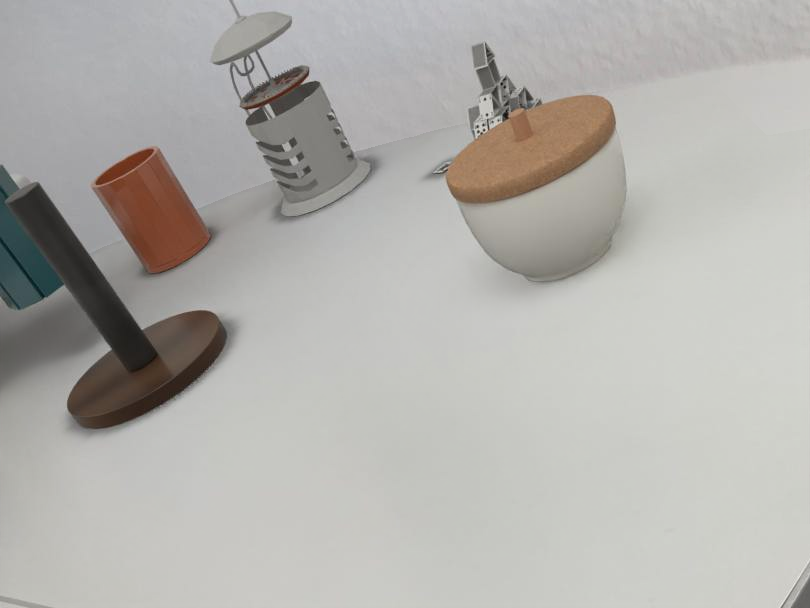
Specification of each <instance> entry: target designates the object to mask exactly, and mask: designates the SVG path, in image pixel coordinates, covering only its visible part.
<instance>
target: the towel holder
mask: <svg viewBox="0 0 810 608" xmlns="http://www.w3.org/2000/svg"><path fill="white" fill-rule="evenodd" d="M5 204H6V205H7V207H8V208H9V210H10V211H11V212H12V214H13V215H14V216H15V218H16V219H17V221H18V222H19V223H20V225H21V226H22V227H23V229H24V230H25V231H26V233H27V234H28V236H29V237H30V238H31V240H32V241H33V242H34V244H35V245H36V246H37V248H38V249H39V251H40V252H41V253H42V255H43V256H44V257H45V259H46V260H47V262H48V263H49V264H50V266H51V267H52V268H53V270H54V271H55V272H56V274H57V275H58V277H59V278H60V279H61V281H62V282H63V283H64V285H63V286H65V288H66V289H67V290H68V292H69V293H70V294H71V297H73V299H74V300H75V302H77V304H78V306H79V307H80V308H81V310H82V311H83V313H85V315H86V317H87V318H88V319H89V321H90V322H91V323H92V325H93V326H94V327H95V329H96V331H98V333H99V334H100V336H101V337H102V338H103V340H104V341H105V342H106V344H107V345H108V347H109V348H110V350H109V351H108V352H106V353H105V354H104V355H103V356H101V357H100V358H99V359H98V360H96V361H95V362H94V363H93V364H92V365H91V366H90V367H89V368H88V369H87V370H86V371H85V372H84V373H83V374H82V376H80V378H79V379H78V380H77V381H76V383H75V384H74V385H73V387H72V388H71V390H70V392H69V395H68V396H67V400H66V408H67V409H66V410H67V411H68V413H69V414H70V415H71V416H72V417H73V419H74V420H75V421H76V423H77V424H78V425H79V426H81V427H82V428H85V429H89V430H93V429H94V430H100V429H106V428H111V427H114V426H119V425H122V424H125V423H127V422H129V421H132V420H134V419H136V418H139V417H141V416H143V415H145V414H147V413H150V412H151V411H153V410H155V409H157V408H158V407H160V406H162V405H164V404H165V403H167V402H168V401H170V400H171V399H173V398H174V397H176V396H177V395H178V394H180V393H181V392H183V391H184V390H185V389H187V388H188V387H189V386H190V385H191V384H193V383H194V382H196V380H197V379H199V378H200V377H201V376H202V375H203V374H204V373H205V372H206V371H207V370H208V368H210V367H211V366H212V364H213V363H214V362H215V361H216V360H217V358H218V357H219V355H220V354H221V353H222V351H223V349H224V347H225V345H226V342H227V338H228V334H227V333H228V332H227V329H226V328H225V326H224V324H223V322H222V321H221V319H220V318H219V316H218V315H217V314H216V313H215V312H213V311H211V310H204V309H197V310H190V311H186V312H182V313H181V312H180V313H178V314H174V315H172V316H169V317H166V318H164V319H162V320H160V321H157V322H155V323H153V324H151V325H148V326H147V327H145V328H143V329H142V328H141V327H140V325H139V324H138V322H137V320H136V319H135V318H134V316H133V315H132V313H131V312H130V311H129V310H128V308H127V306H126V305H125V304H124V302H123V300H121V298H120V296H119V295H118V293H117V292H116V291H115V289H114V288H113V286H112V285H111V283H110V282H109V280H108V279H107V278H106V276H105V275H104V273H103V272H102V271H101V269H100V268H99V267H98V265H97V264H96V262H95V261H94V259H93V257H92V256H91V254H90V253H89V252H88V250H87V249H86V248H85V246H84V245H83V243H82V242H81V241H80V239H79V238H78V236H77V235H76V233H75V231H73V229H72V228H71V226H70V224H68V222H67V220H66V219H65V217H64V216H63V215H62V213H61V212H60V210H59V209H58V207H57V206H56V205H55V203H54V202H53V200H52V199H51V198H50V196H49V195H48V193H47V192H46V190H45V189H44V187H43V186H42V185H41V183H40V182H39V181H35V182H31V184H29V185H27V186H25V187H23V188H21V189H19V190H18V191H16V192H15V193H13V194H12V195H11V196H10V197H8V198H7V199H6V201H5Z"/></svg>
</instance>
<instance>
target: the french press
mask: <svg viewBox="0 0 810 608" xmlns="http://www.w3.org/2000/svg"><path fill="white" fill-rule="evenodd" d="M228 1H229V3H230V6H231V7H232V9H233V11H234V13H235V14H236V19H235V20H234V23H232V25H230V26H229V27H228V28H227V29H226V30H225V31H223V32H222V34H221V35H220V37H219V38H218V40H217V41H216V42H215V44H214V46H213V48H212V52H211V56H210V59H209V62H210V63H212V64H213V65H216V66H222V65H227V64H229V74H230V79H231V82H232V86H233V89H234V91H235V94H236V95H237V97H238V99H239V102H240V103H239V107H240V108H241V109H243V110H244V111H245V113H246V114H247V116H248V117H246V119H245V125H246V128H247V130H248V132H249V134H250V135H251V136H252V137H253V138H254V139H255V140H257V141H255V144H256V147H257V149H258V150H259V151H260V152H261V153H263V155H262V158H263V159H264V161H265V164H266V165H268V166H269V167H270V169H269V171H270V172H271V174H272V177H273V178H274V179H276V180H277V181H276V184H277V186H278V188H279V190H280V191H281V193H282V195H283V201H282V205H281V210H280V214H281V215H283V216H285V217H299V216H302V215H306V214H309V213H311V212H315V211H317V210H319V209H322V208H323V207H325V206H328V205H329V204H332V203H334V202H336V201H337V200H338V199H340V198H342V197H343V196H345V195H347V194H348V193H350V192H351V191H353V190H354V189H355V188H356V187H357V186H359V184H361V183H362V182H363V181H364V180H365V179H366V177H367V176H368V175H369V174H370V172H371V163H370V162H367V161H365V160H362V159H359V158H357V157H356V155H355V153H354V151H353V150H352V148H351V145H350V142H349V140H348V138H347V137H346V135H345V132H344V130H343V128H342V126H341V124H340V123H339V120H338V118H337V115H336V113H335V111H334V109H333V108H332V104H331V102H330V100H329V97H328V96H327V94H326V91H325V90H324V87H323V85H322V83H321V82H320V81H317V80H313V81H307V82H305V80H307V78H308V77H309V75H310V66H308V65H303V64H301V65H298V66H293V67H292V68H289V69H287V70H284V72H282V71H280V73H281V74H280V73H277V74H278V75H274V77H273V76H271V74H270V72H269V70H268V69H267V67H266V65H265V62H264V60H263V59H262V56H261V55H260V53H259V50H261V49H262V48H264V47H265V46H267V45H269V44H271V43H272V42H274V41H275V40H276V39H278V38H279V37H280V36H283V34H284V33H286V32H287V31H288V30H289V29H290V28H291V27H292V24H293V16H292V15H289V14H285V13H283V12H280V11H279V12H278V11H263V12H255V13H253V14H249V15H247V16H246V15H241V14H240V13H239V10H238V8H237V7H236V5H235V3H234V0H228ZM253 53H255V54H256V56H257V59H258V60H259V62H260V65H261V66H262V68H263V70H264V72H265V75H266V76H267V79H268V80H267V79H266V80H265V81H263V82H261V83H259V84H258V85H256V86H254V84H253V82H252V80H251V76H250V74H252V73H253V71H254V70H255V68H256V66H255V62H254V60H253V58H252V56H251V54H253ZM241 59H243V67H244V71H245V72H241V71H240V69H239V67H238V65H237V64H236V63H235V62H236V61H239V60H241ZM247 59H249V62H250V63H251V67H250V69H248V64H247V63H248V62H247ZM233 69H235V71H236V73H237V75H239V76H240V77H247V80H248V84H249V86H250V88H251V89H250V90H249V91H248V92H247V93H246V94H245V95H244V96H243V97H242V96H241V94H240V91H239V90H238V87H237V84H236V82H235V75H234V71H233ZM267 105H268V106H269V107H270V108H271V110H272V113H273V114H274V117H273V116H272V115H271V113H270V112H269V111H268V109H267V107H266V106H267ZM254 109H255V110H254ZM249 110H254V111H253V112H250V111H249ZM330 113H332V114H333V115H332V114H330ZM338 127H339V128H338ZM287 143H288V144H289V146H290V149H289V150H288V151H287V150H285V148H284V146H283V145H286V144H287ZM295 158H296V160H297V161H298V163H296V164H292V162H291V160H292V159H295ZM302 171H303V173H304V174H303V175H302V176H300V177H299V175H298V173H301V172H302Z"/></svg>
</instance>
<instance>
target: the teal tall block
mask: <svg viewBox="0 0 810 608" xmlns="http://www.w3.org/2000/svg"><path fill="white" fill-rule="evenodd" d="M18 190H19V187H18V186H17V184H16V183H15V182H14V180H13V179H12V177H11V176H10V173H9V172H8V170H7V169H6V168H5V166H4V165H3V164H0V299H1V300H2V301H3V302H4V304H5V305H6V306H7V308H8V309H10V310H15V311H20V310H24V309H26V308H28V307H30V306H33V305H36V304H38V303H40V302H41V301H42V302H43V301H44V299H45V298H46V299H47V298H48V297H50V296H51V295H52V294H54V293H55V292H57V291H58V290H59V289H61V288H62V287H63V286H65V285H64V283H63V282H62V281H61V279H60V278H59V277H58V275H57V274H56V272H55V271H54V270H53V268H52V267H51V266H50V264H49V263H48V262H47V260H46V259H45V257H44V256H43V255H42V253H41V252H40V251H39V249H38V248H37V246H36V245H35V244H34V242H33V241H32V240H31V238H30V237H29V236H28V234H27V233H26V231H25V230H24V229H23V227H22V226H21V225H20V223H19V222H18V221H17V219H16V218H15V216H14V215H13V214H12V212H11V211H10V210H9V208H8V207H7V205H6V204H5V201H6V199H7V198H8V197H10V196H11V195H12V194H13V193H15V192H16V191H18Z"/></svg>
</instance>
